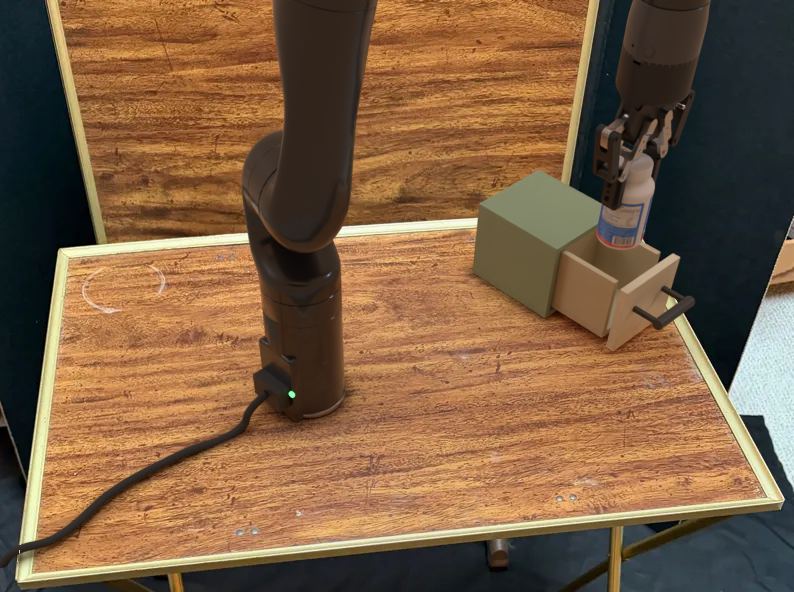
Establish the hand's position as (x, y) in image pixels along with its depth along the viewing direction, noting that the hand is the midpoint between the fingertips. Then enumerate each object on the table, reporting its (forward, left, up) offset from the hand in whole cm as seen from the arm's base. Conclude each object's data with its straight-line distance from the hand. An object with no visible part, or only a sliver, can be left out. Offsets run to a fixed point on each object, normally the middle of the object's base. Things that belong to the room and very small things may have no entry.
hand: (627, 195), depth 109 cm
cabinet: (+7, +16, -24) cm, 29 cm away
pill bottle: (0, 0, -6) cm, 6 cm away
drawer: (+7, +2, -23) cm, 24 cm away
